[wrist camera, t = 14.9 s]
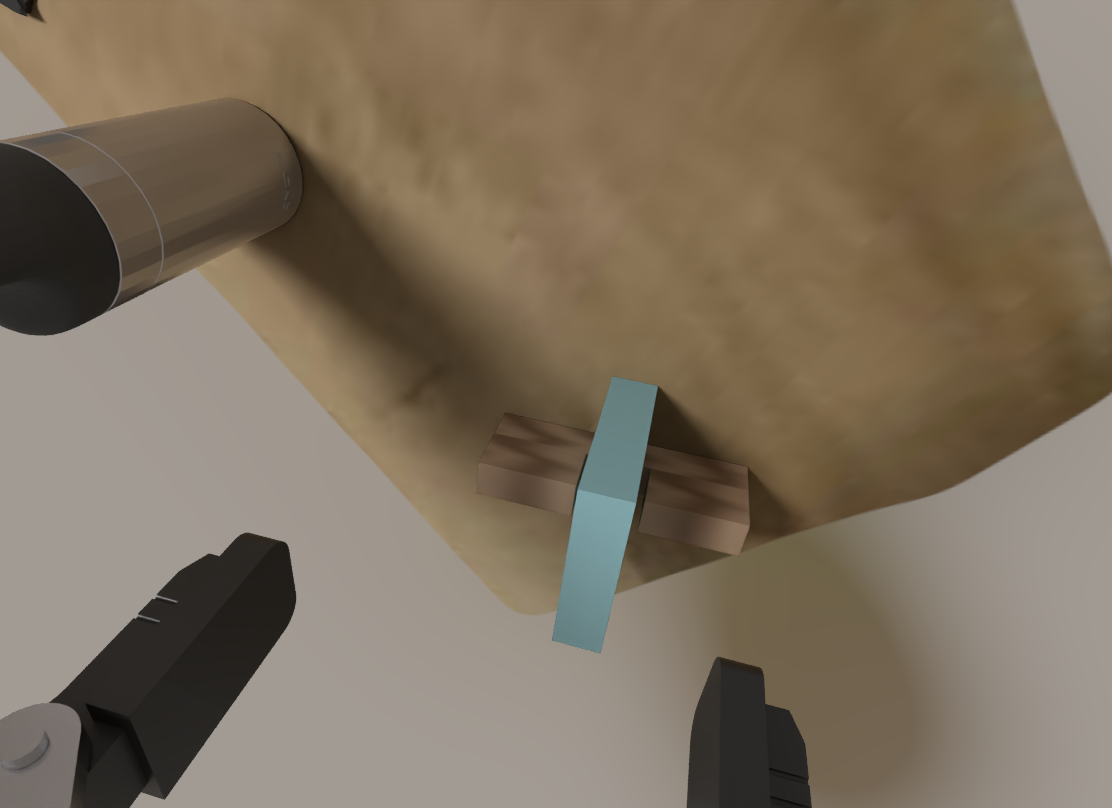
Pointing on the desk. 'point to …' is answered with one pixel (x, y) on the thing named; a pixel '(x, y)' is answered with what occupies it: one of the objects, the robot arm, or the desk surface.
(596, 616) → the teal notched plate
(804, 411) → the desk surface
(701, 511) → the walnut slotted board
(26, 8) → the curved wedge
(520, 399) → the desk surface
